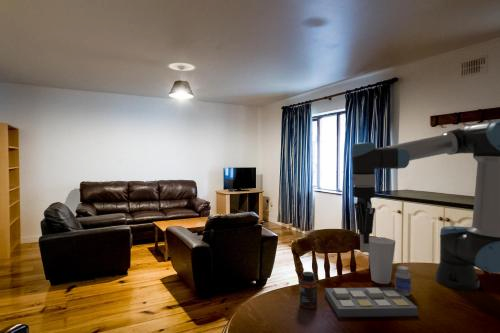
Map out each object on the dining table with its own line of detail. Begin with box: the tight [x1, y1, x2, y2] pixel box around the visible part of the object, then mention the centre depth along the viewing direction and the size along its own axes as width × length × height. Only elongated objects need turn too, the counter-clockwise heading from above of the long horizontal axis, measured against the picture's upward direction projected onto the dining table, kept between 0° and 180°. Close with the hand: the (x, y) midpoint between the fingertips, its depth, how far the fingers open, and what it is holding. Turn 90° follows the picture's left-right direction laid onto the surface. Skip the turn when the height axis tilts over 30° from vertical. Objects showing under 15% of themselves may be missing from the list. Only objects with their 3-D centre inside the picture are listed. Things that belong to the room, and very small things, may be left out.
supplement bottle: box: [299, 271, 318, 310], centre depth 107 cm, size 6×6×11 cm
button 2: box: [365, 287, 383, 298], centre depth 109 cm, size 4×4×2 cm
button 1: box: [382, 290, 400, 298], centre depth 110 cm, size 4×4×2 cm
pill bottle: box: [394, 265, 412, 297], centre depth 117 cm, size 5×5×10 cm
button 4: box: [333, 287, 349, 299], centre depth 109 cm, size 4×4×2 cm
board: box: [324, 286, 419, 318], centre depth 107 cm, size 26×16×3 cm, turn 91°
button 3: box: [349, 291, 366, 298], centre depth 109 cm, size 4×4×2 cm
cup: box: [368, 236, 396, 285], centre depth 129 cm, size 11×10×17 cm
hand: (364, 251), depth 110 cm, fingers closed
